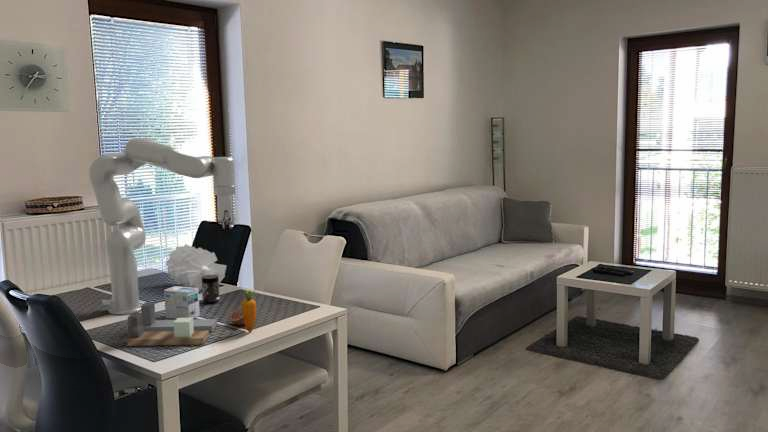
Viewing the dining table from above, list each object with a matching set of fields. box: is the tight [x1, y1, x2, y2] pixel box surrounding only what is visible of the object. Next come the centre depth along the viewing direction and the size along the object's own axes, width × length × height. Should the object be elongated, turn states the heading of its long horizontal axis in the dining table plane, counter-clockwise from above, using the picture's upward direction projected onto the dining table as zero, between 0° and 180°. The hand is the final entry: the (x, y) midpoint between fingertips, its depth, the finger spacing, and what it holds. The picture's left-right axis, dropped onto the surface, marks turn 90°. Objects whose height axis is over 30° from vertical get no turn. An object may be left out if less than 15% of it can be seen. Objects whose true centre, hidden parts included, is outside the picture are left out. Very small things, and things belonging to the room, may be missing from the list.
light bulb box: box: [163, 285, 201, 320], centre depth 241 cm, size 11×7×11 cm, turn 71°
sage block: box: [174, 318, 194, 337], centre depth 213 cm, size 5×5×5 cm
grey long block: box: [140, 301, 218, 333], centre depth 226 cm, size 24×8×9 cm, turn 92°
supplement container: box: [201, 275, 221, 305], centre depth 261 cm, size 7×7×10 cm
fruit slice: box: [228, 308, 245, 326], centre depth 231 cm, size 8×7×5 cm
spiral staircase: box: [165, 243, 228, 292], centre depth 285 cm, size 18×18×25 cm
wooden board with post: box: [126, 312, 210, 347], centre depth 213 cm, size 24×8×9 cm, turn 92°
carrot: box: [241, 289, 257, 333], centre depth 222 cm, size 5×5×15 cm
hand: (226, 236), depth 242 cm, fingers open, 9 cm apart
